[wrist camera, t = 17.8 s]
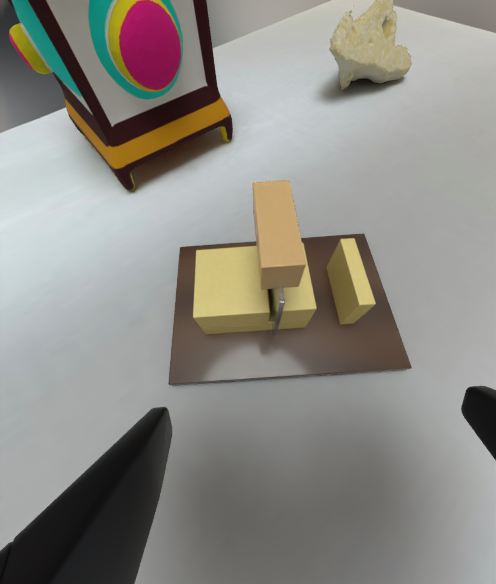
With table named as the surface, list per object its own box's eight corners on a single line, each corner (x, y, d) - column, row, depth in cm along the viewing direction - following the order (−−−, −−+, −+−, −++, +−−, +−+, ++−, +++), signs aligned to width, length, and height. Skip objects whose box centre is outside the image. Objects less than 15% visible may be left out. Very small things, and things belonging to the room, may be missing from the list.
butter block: (305, 327, 21) (317, 308, 17) (205, 334, 21) (192, 317, 17) (295, 270, 24) (303, 242, 20) (206, 276, 24) (196, 249, 20)
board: (405, 369, 20) (412, 368, 19) (172, 385, 20) (168, 384, 19) (360, 239, 26) (364, 233, 25) (182, 252, 26) (179, 246, 25)
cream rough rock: (379, 73, 46) (331, -2, 38) (421, 43, 39) (374, -54, 32) (353, 141, 44) (298, 77, 37) (393, 121, 38) (336, 38, 31)
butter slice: (353, 323, 21) (376, 303, 17) (340, 324, 21) (359, 305, 17) (338, 266, 24) (354, 237, 19) (326, 267, 24) (340, 238, 19)
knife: (288, 334, 19) (310, 282, 11) (261, 336, 19) (263, 286, 11) (277, 252, 22) (287, 168, 14) (253, 253, 22) (251, 171, 14)
